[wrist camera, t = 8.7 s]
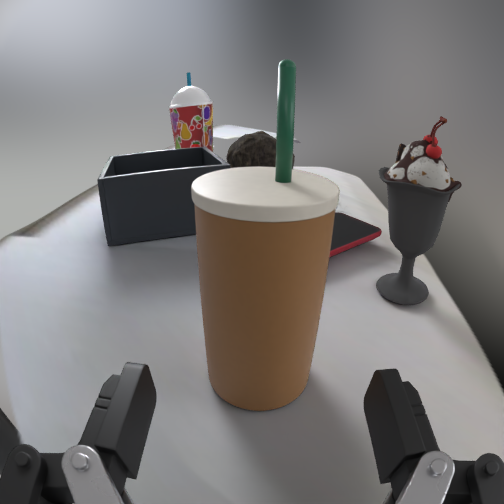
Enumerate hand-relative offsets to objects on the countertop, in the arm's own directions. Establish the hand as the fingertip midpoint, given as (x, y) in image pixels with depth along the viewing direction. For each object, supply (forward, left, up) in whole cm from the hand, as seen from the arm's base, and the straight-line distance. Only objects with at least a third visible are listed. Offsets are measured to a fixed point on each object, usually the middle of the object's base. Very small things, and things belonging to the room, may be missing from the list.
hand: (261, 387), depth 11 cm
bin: (-1, +34, -6) cm, 34 cm away
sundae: (+17, +10, -6) cm, 20 cm away
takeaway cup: (+2, +6, -6) cm, 8 cm away
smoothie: (+7, +56, -6) cm, 56 cm away
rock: (+16, +43, -6) cm, 46 cm away
